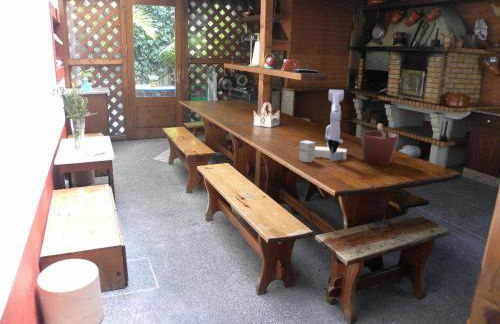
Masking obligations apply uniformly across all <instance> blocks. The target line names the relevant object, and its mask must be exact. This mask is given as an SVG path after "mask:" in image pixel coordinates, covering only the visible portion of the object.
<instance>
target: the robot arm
mask: <svg viewBox="0 0 500 324" xmlns="http://www.w3.org/2000/svg"><path fill="white" fill-rule="evenodd" d="M344 96H345V91H344V89H331V88H330V89H329V90H328V101H329V102H331V110H330V119H329V120H330V124H329V125H327V126H326V128H325V135H324V139H325V140H326V147H329V149H330V151H331V147H333V152H336V151H337V148H339V145H340V144H343V143H344V139H342V138H340V137H341V120H342V111H341V108H342V107H341V105H340V102H342V101H343V100H344Z"/></svg>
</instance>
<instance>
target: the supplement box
mask: <svg viewBox="0 0 500 324" xmlns="http://www.w3.org/2000/svg"><path fill="white" fill-rule="evenodd" d="M315 146H316V142H315V141H311V140H306V139H305V140H301V141H299V148H298V149H299V150H298V151H299V153H298V161H299V160H300V162H303V163H306V162H309V163H312V161H313V162H315V157H314V155H315Z"/></svg>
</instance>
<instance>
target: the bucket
mask: <svg viewBox="0 0 500 324" xmlns="http://www.w3.org/2000/svg"><path fill="white" fill-rule="evenodd" d="M383 125H384V124H383V123H378V124H377V130H367V131H362V132H361V137H360V138H361V146H362V157H363V162H365V164H368V165H371V166H372V165H373V166H378V167H379V166H382V167H384V166H387V167H388V166H389V165H390V164H391V162H392V161H393V156H394V153H395V150H396V147H397V146H398V145H397V144H398V141H399V138H400V137H399V136H400V134H397V133H394V132H391V131H385V130H384V128H383Z"/></svg>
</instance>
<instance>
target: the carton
mask: <svg viewBox="0 0 500 324" xmlns="http://www.w3.org/2000/svg"><path fill="white" fill-rule="evenodd" d="M347 150H348V149H347V148H342V147H338V148H337V151H336V152H342V151H343V159H342V160H347V154H348V153H347ZM336 152H335V153H336ZM330 153H331V151H330V149H329V147H327V146H316V145H315V155H314V158H320V157H323V158H322V159H330Z"/></svg>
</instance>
